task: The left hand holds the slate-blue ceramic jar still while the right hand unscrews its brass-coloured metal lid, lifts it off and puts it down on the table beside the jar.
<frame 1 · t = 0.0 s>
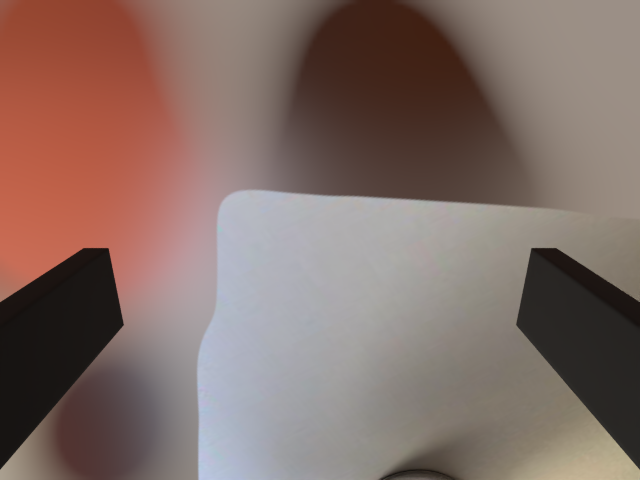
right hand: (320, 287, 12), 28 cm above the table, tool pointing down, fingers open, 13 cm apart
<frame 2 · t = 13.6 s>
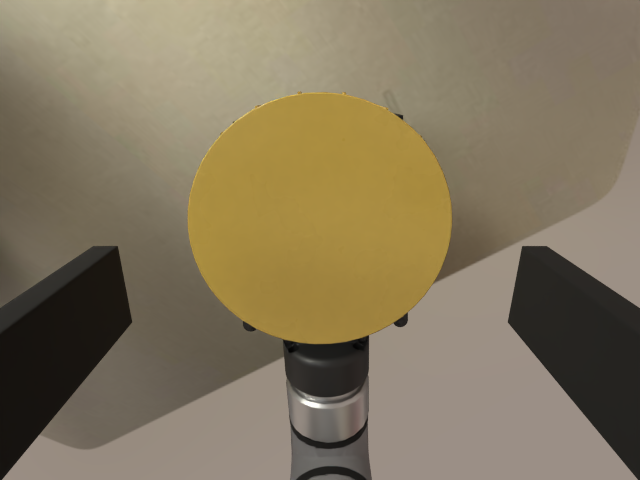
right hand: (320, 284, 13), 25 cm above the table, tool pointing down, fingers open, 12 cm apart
lid: (319, 230, 18), point 19 cm above the table, screwed on, not yet turned
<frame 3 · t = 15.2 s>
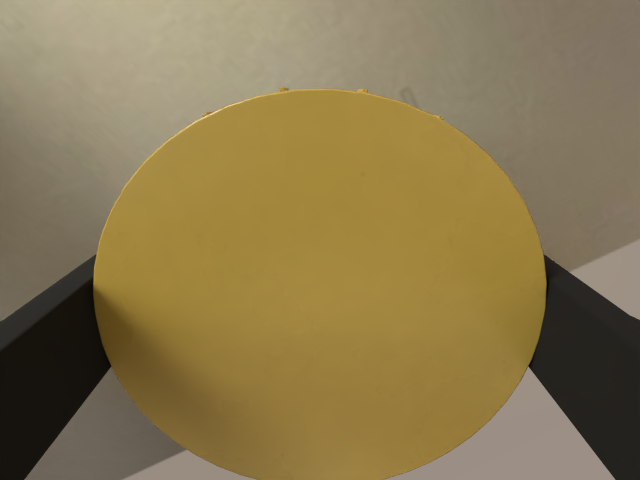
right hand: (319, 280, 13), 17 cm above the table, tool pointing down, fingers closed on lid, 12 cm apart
lid: (319, 320, 11), point 19 cm above the table, screwed on, not yet turned, touching right hand
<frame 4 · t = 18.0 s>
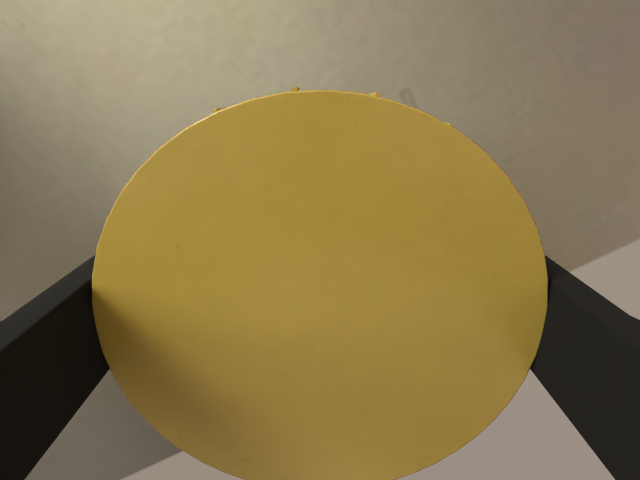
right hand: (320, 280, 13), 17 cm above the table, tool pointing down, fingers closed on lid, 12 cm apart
lid: (319, 322, 11), point 19 cm above the table, turned 69° so far, risen 0.2 cm, still on its thread, touching right hand
when the right hand's fingers open (0 cm above the table, at t = 25.6 s): lid drops 1 cm, point 1 cm above the table.
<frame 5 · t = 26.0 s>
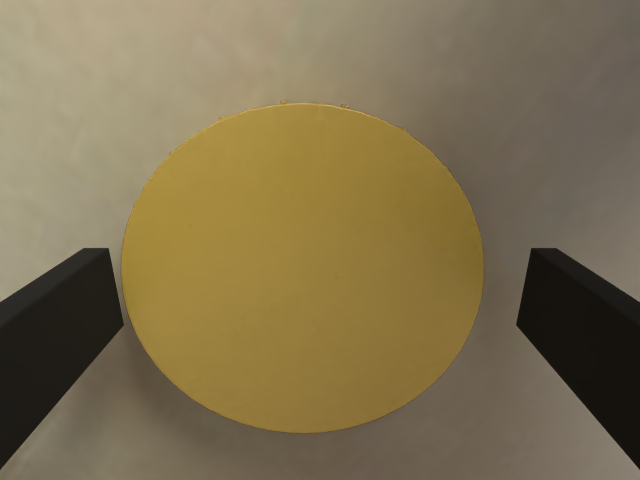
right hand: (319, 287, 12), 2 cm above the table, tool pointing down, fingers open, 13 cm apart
lid: (304, 288, 13), point 1 cm above the table, off its thread
when the left hand's fingers open (6 cm above the table, at t = 26.6 s): jar stays where it is, on the table.
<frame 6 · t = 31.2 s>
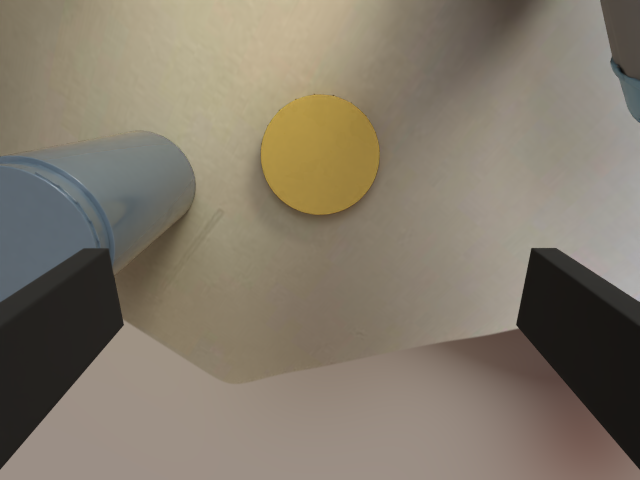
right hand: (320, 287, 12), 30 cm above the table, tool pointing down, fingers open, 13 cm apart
lid: (320, 157, 39), point 1 cm above the table, off its thread
jar: (146, 180, 41), on the table
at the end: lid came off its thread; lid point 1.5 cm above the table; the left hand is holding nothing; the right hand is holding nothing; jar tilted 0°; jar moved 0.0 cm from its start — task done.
